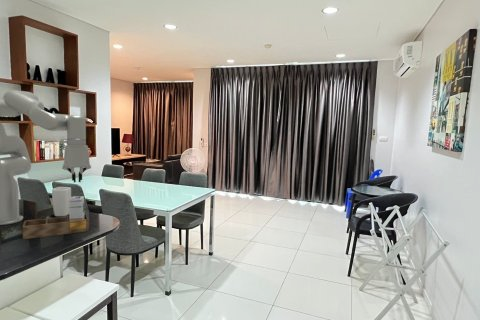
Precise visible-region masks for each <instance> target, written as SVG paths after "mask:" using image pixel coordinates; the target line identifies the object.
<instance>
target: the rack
mask: <svg viewBox="0 0 480 320" xmlns="http://www.w3.org/2000/svg"><path fill="white" fill-rule="evenodd" d="M84 215H85V219H84V220H75V221H69V215H67V216H64V217H57V216H56V217H48V218H39V219H28V220H24V221H23V224H22V240H28V239H36V238H45V237H52V236H60V235H67V234H68V235H69V234H77V233H83V232H84V233H85V232H89V231H90V223H89V222H90V220H89V219H90V218H89V216H88V214H84Z"/></svg>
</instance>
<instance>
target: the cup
mask: <svg viewBox="0 0 480 320" xmlns="http://www.w3.org/2000/svg"><path fill="white" fill-rule="evenodd" d="M51 196H52V197H51V199H52V208H53V209H52V210H53V214H54V216H55V217H56V218H57V217H67V216H69V199H70V198H71V197H72V188H71V186H70V187H69V186H57V187H54V188H52V189H51Z"/></svg>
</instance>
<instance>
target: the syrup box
mask: <svg viewBox="0 0 480 320" xmlns="http://www.w3.org/2000/svg"><path fill="white" fill-rule="evenodd" d="M85 215H86V214H85V196H83V195H77V196H75V195H74V196H71V198H70V199H69V214H68V216H69V221H75V220H84V219H85Z"/></svg>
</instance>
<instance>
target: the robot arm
mask: <svg viewBox="0 0 480 320" xmlns="http://www.w3.org/2000/svg"><path fill="white" fill-rule="evenodd" d="M23 114H24V115H25V116H27V117H28V118H29V120H30V121H31V123H33V124H34V125H36V126H38V127H39V128H41V129H43V130H47V131H51V132H53V131H54V132H55V131H59V132H61V131H63V132H66V136H67V137H66V139H63V143H65V146H64V152H63V153H64V154H63V155H64V156H63V165H62V168H61V169H62V170H64V171H68V172H69V173H71V181H73V183H74V184H75V183H76V177H77V175H76V172H75V168H76V169H77V168H79V171H78V183H81V181H82V180H83V173H84V172H85V171H87V170H90V169H92V165H91V164H90V163H91V162H90V151H89V145H87V140H86V139H87V132H86V131H87V124H86V123H87V122H86V117H85V116H83V115H76V114H75V115H74V114H73V115H71V114H70V115H69V114H66V113H65V114H64V113H63V114H61V113H51V112H48V111H46V110H45V106H44V104H43V102H42V101H40V100H39V98H38V96H37V95H36V94H35V93H33V92H30V91H26V90H25V91H24V90H16V89H10V90H8V91H6V92H5V93H4V94H3V96H2V98H0V117H6V118H7V117H11V118H12V117H19V116H21V115H23ZM8 155H9V156H8ZM0 156H4V157H0V226H5V225H12V224H15V223H16V224H17V223H19V222H21V221H22V220H23V219H24V216H23V215H20V202H19V201H20V200H19V185H18V182H17V180H16V179H15V176H20V175H25V174H27V173H29V172H30V171H31V170H32V162H31V158H30V154H29V151H28V148H27V146H26V142H25V141H24V140H23V139H22V138H21V137H20V136H19V135H9V134H7V132H6V129H5V125H4V124H3V123H2V122H1V121H0ZM6 156H7V157H6Z"/></svg>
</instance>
